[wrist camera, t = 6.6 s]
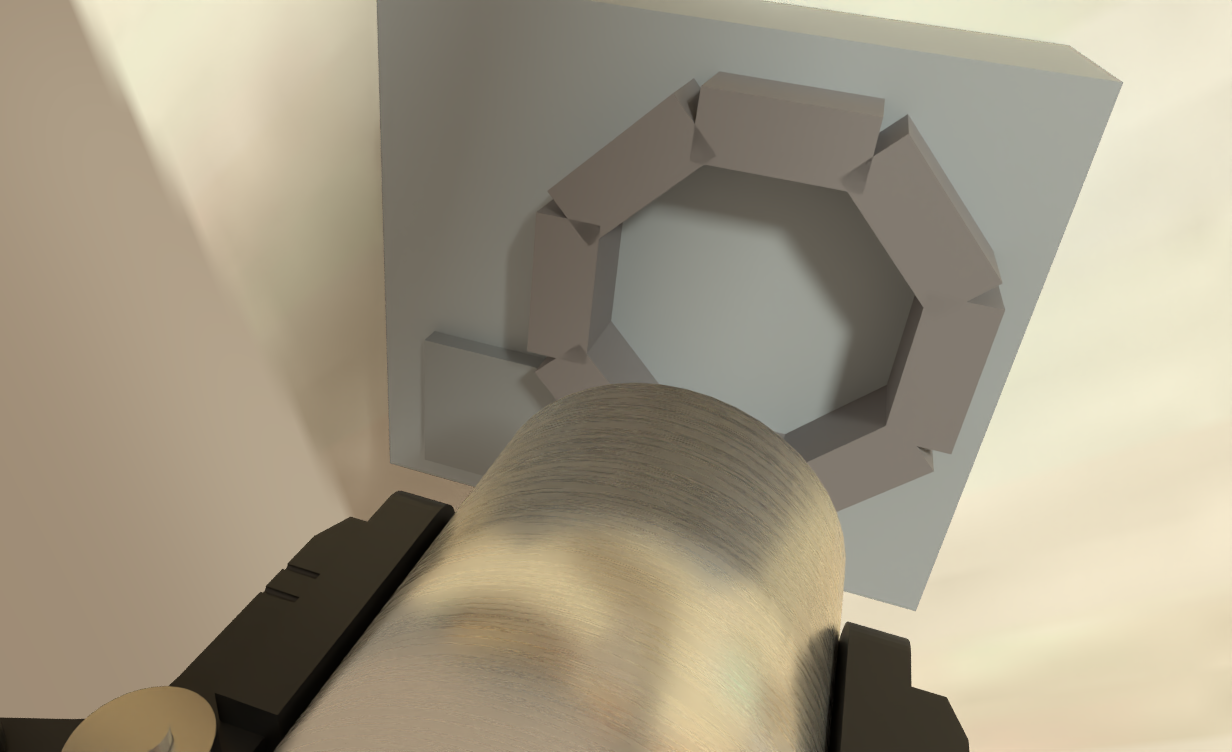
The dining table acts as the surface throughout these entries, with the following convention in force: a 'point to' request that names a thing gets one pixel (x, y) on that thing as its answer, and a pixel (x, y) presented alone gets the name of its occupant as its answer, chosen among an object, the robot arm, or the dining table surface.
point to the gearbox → (726, 232)
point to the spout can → (609, 596)
